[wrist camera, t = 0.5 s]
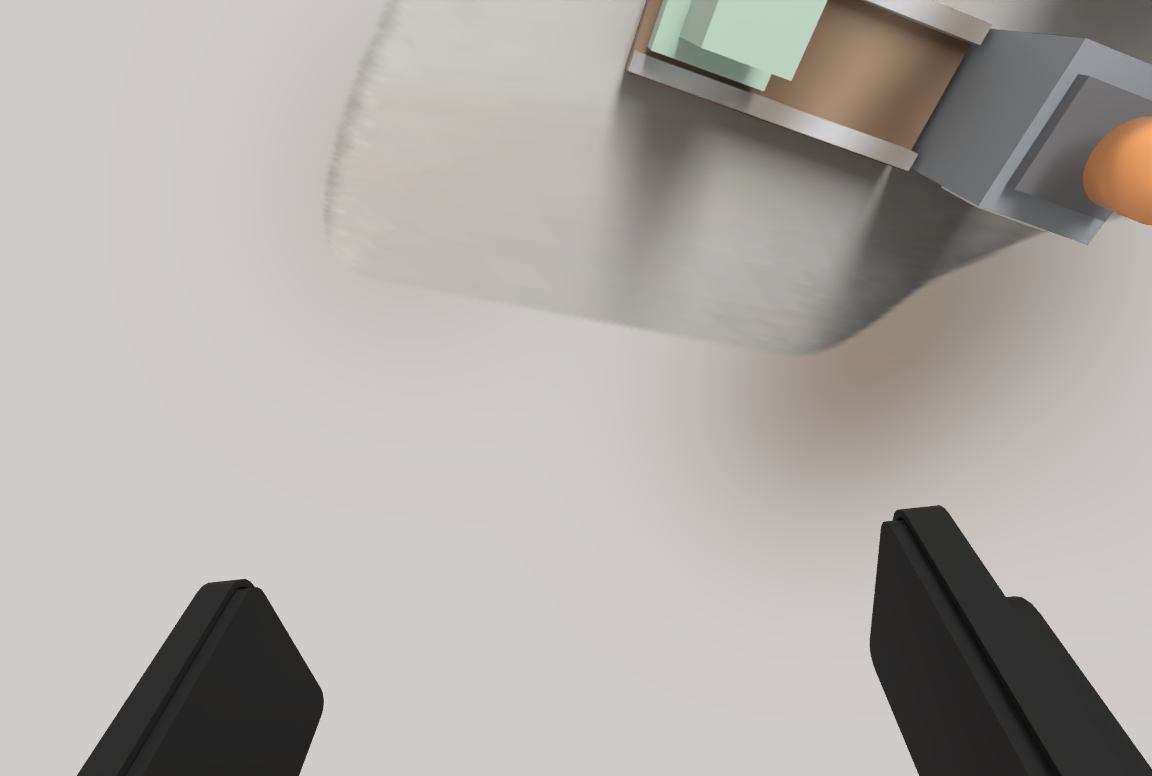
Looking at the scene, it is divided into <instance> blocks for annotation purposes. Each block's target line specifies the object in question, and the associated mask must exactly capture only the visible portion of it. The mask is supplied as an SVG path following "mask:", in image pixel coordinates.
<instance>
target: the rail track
mask: <svg viewBox="0 0 1152 776" xmlns="http://www.w3.org/2000/svg"><path fill="white" fill-rule="evenodd" d="M662 1H663V0H647V1H646V4H645V8H644V11H643V14H642V17H641V20H640V23H639V26H638V29H637V32H636V36H635V39H634V42H633V45H632V48H631V51H630V54H629V57H628V60H627V64H626V67H625V69H626V71H627V72H629V73H632V74H635V75H638V76H641V77H643V78H646V79H649V80H652V81H655V82H657V83H660V84H663V85H666V86H669V87H671V88H674V89H677V90H680V91H683V92H685V93H688V94H691V95H694V96H697V97H699V98H702V99H705V100H708V101H711V102H713V103H716V104H719V105H722V106H725V107H727V108H730V109H733V110H736V111H739V112H741V113H744V114H747V115H750V116H753V117H755V118H758V119H761V120H764V121H767V122H769V123H772V124H775V125H778V126H781V127H783V128H786V129H789V130H792V131H795V132H797V133H800V134H803V135H806V136H809V137H811V138H814V139H817V140H820V141H823V142H825V143H828V144H831V145H834V146H837V147H839V148H842V149H845V150H848V151H851V152H853V153H856V154H859V155H862V156H865V157H867V158H870V159H873V160H876V161H879V162H881V163H884V164H887V165H890V166H893V167H895V168H898V169H904V170H907V171H909V170H910V168H911V166H912V164H913V163H914V161H915V159H916V157H917V156H918V154H917V153H915V152H913V151H911V150H912V148H913V146H914V144H915V142H916V141H917V139H918V137H919V135H920V134H921V132H922V130H923V128H924V126H925V125H926V123H927V121H928V119H929V118H930V116H931V114H932V112H933V110H934V109H935V107H936V105H937V103H938V102H939V100H940V98H941V96H942V94H943V93H944V91H945V89H946V87H947V86H948V84H949V82H950V80H951V78H952V77H953V75H954V73H955V71H956V70H957V68H958V66H959V64H960V62H961V61H962V59H963V57H964V55H965V54H966V52H967V50H968V48H969V46H970V45H971V44H975V45H981V43H982V42H983V40H984V38H985V36H986V35H987V33H988V31H989V29H990V28H991V26H992V24H990V23H987V22H985V21H983V20H980V19H978V18H975V17H973V16H970V15H968V14H965V13H963V12H960V11H958V10H955V9H953V8H950V7H948V6H945V5H943V4H940V3H938V2H935V1H933V0H827V3H826V5H825V7H824V9H823V12H822V14H821V16H820V18H819V20H818V23H817V25H816V27H815V29H814V32H813V34H812V36H811V38H810V41H809V43H808V45H807V47H806V50H805V52H804V54H803V56H802V59H801V61H800V63H799V65H798V67H797V70H796V72H795V74H794V76H793V79H792V81H790V80H787V79H784V78H782V77H779V76H776V75H773V74H771V77H770V79H769V81H768V84H767V86H766V88H765V91H761V90H759V89H756V88H753V87H750V86H748V85H745V84H742V83H739V82H737V81H734V80H731V79H728V78H726V77H723V76H720V75H717V74H715V73H712V72H709V71H706V70H704V69H701V68H698V67H695V66H693V65H690V64H687V63H684V62H682V61H679V60H676V59H674V58H671V57H668V56H665V55H663V54H660V53H657V52H654V51H652V50H650V49H649V48H648V47H647V46H648V43H649V40H650V37H651V34H652V31H653V28H654V25H655V22H656V19H657V16H658V13H659V10H660V7H661V4H662Z"/></svg>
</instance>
